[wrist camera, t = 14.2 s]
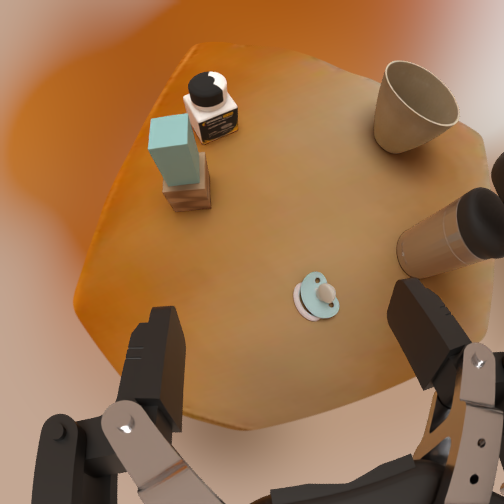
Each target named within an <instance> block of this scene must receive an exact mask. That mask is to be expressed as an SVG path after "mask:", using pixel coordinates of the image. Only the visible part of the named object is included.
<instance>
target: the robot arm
mask: <svg viewBox="0 0 504 504" xmlns="http://www.w3.org/2000/svg"><path fill="white" fill-rule="evenodd" d="M491 178H492V182H493V185H494V187H495V189H496V191H497V194H498V196H497V195H496V194H495V193H494V192H492V191H491V190H489V189H486V188H482V187H479V188H475V189H473V190H471V191H469V192H468V193H466V194H464V195H463V196H462V197H460V198H458V199H457V200H455V201H454V202H452V203H451V204H449V205H448V206H446V207H444V208H443V209H441V210H439V211H438V212H436V213H435V214H433V215H431V216H430V217H428V218H426V219H425V220H423V221H421V222H420V223H418V224H416V225H415V226H413V227H411V228H410V229H408V230H406V231H405V232H404V233H403V234H402V235H401V236H400V238H399V240H398V244H397V256H398V260H399V263H400V265H401V267H402V268H403V270H404V271H405V272H406V273H407V274H408V275H410V276H411V277H413V278H407V279H401V280H398V281H397V282H396V284H395V287H394V290H393V294H392V297H391V300H390V304H389V307H388V310H387V319H388V323H389V326H390V328H391V329H392V331H393V333H394V335H395V337H396V338H397V340H398V342H399V344H400V346H401V348H402V350H403V351H404V353H405V355H406V357H407V359H408V361H409V363H410V365H411V367H412V369H413V371H414V373H415V375H416V377H417V379H418V380H419V383H420V385H421V387H422V389H423V390H427V389H429V388H432V387H434V388H435V390H436V392H435V393H434V395H433V399H432V404H431V408H430V412H429V417H428V421H427V425H426V429H425V432H424V436H423V438H422V440H421V442H420V444H419V445H418V447H417V449H416V451H415V453H414V455H413V457H412V455H411V454H409V455H406V456H404V457H401V458H398V459H396V460H393V461H390V462H387V463H384V464H382V465H380V466H378V467H376V468H375V469H373V470H371V471H370V472H368V473H366V474H365V475H363V476H361V477H359V478H358V479H356V480H354V481H352V482H350V483H346V484H304V485H299V486H293V487H286V488H279V489H272V490H270V491H271V492H270V495H268V496H265V497H262V498H260V499H258V500H256V501H254V502H252V503H250V504H504V497H503V496H501V495H499V494H497V493H495V492H493V491H492V490H493V486H494V481H495V476H496V471H497V466H498V459H499V458H500V461H501V464H502V467H503V470H504V352H492V351H491V350H490V349H489V348H488V347H487V346H485V345H483V344H481V343H472V342H471V341H470V339H469V338H468V336H467V335H466V333H465V332H464V330H463V329H462V328H461V326H460V325H459V323H458V322H457V321H456V319H455V318H454V316H453V315H451V312H450V311H449V310H448V308H447V307H445V304H444V303H443V302H442V300H441V299H440V298H439V296H438V295H436V294H435V293H434V292H432V291H431V290H429V289H428V288H427V289H426V288H425V287H424V286H423V284H422V283H421V282H420V280H419V279H422V278H426V277H430V276H434V275H437V274H441V273H444V272H448V271H451V270H455V269H458V268H461V267H465V266H468V265H471V264H474V263H477V262H481V261H484V260H487V259H490V258H496V259H497V258H503V257H504V152H503V153H502V154H501V155H500V157H499V158H498V159H497V160H496V162H495V164H494V166H493V168H492V172H491ZM128 348H129V349H128V350H127V354H126V360H125V363H124V367H123V372H122V376H121V381H120V386H119V391H118V396H117V399H116V402H115V403H113V404H112V405H110V406H109V407H108V408H107V409H106V410H105V412H104V414H103V415H101V416H99V417H95V418H91V419H86V420H81V421H77V422H75V421H74V420H73V419H72V418H71V417H69V416H68V415H65V414H57V415H53V416H51V417H50V418H49V419H47V421H46V422H45V423H44V425H43V427H42V430H41V435H40V441H39V446H38V452H37V459H36V465H35V472H34V481H33V490H32V502H31V504H117V476H118V473H123V472H128V473H129V475H130V476H131V478H132V479H133V481H134V482H135V484H136V485H137V487H138V495H139V497H140V499H141V500H142V502H143V503H144V504H225V503H224V502H223V501H222V500H221V499H220V498H219V497H218V496H217V495H216V494H215V493H214V492H213V491H212V490H211V489H210V488H209V487H208V486H207V485H206V484H205V483H204V482H203V481H202V479H201V478H200V477H199V476H198V475H197V474H196V473H195V472H194V471H193V470H192V468H191V467H190V466H189V465H188V464H187V463H186V462H185V460H184V459H183V458H182V457H181V456H180V454H179V453H178V452H177V451H176V450H175V448H174V447H173V446H172V432H182V407H183V387H184V370H185V355H186V345H185V338H184V334H183V331H182V328H181V325H180V321H179V318H178V315H177V311H176V308H175V307H174V306H163V307H153V308H152V309H151V313H150V318H149V322H148V323H139V325H138V326H137V327H136V329H135V330H134V331H133V333H132V334H131V337H130V341H129V346H128ZM500 492H501V494H503V495H504V483H503V484H502V486H501V488H500Z"/></svg>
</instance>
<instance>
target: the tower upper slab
mask: <svg viewBox="0 0 504 504" xmlns="http://www.w3.org/2000/svg"><path fill="white" fill-rule="evenodd" d="M199 175H200V183H195V184H186V185H177V186H169V187H168V185H167V183H166V181H165V180H164V178H163V194H164V195H165V197H166V199H167V200H168V202H169V203H173V202H186V201H199V200H208V165H207V161H206V156H205V152H200V153H199Z"/></svg>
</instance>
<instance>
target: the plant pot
mask: <svg viewBox="0 0 504 504" xmlns="http://www.w3.org/2000/svg"><path fill="white" fill-rule="evenodd" d="M459 116H460V112H459V107H458V104H457V102H456V99H455V98H454V96H453V94H452V93H451V91H450V90H449V89H448V88H447V86H446V85H445V84H444V83H443V82H442V81H441V80H440V79H439V78H437V77H436V76H435V75H433V74H432V73H431V72H429V71H428V70H426V69H425V68H423V67H421V66H419V65H417V64H414V63H411V62H407V61H393V62H391V63H389V64H388V65H387V67H386V69H385V73H384V76H383V79H382V83H381V86H380V90H379V94H378V99H377V104H376V111H375V120H374V137H375V139H376V141H377V143H378V144H379V145H380V146H381V147H382V148H383V149H385V150H386V151H388V152H390V153H394V154H398V153H402V152H405V151H408V150H411V149H413V148H416V147H418V146H420V145H423V144H425V143H427V142H428V141H430V140H432V139H434V138H436V137H437V136H439V135H440V134H442V133H443V132H445V131H446V130H448V129H449V128H450V127H452V126H453V125H455V124H456V123H457V122H458V120H459Z"/></svg>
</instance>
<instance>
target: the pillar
mask: <svg viewBox="0 0 504 504" xmlns="http://www.w3.org/2000/svg"><path fill="white" fill-rule="evenodd" d="M148 150H149V152H150V154H151V156H152V158H153V160H154V161H155V163H156V165H157V167H158V169H159V171H160V172H161V174H162V176H163V178H164V180H165V181H166V183H167V185H168V187H169V186H177V185H186V184H195V183H200V175H199V153H198V149H197V146H196V142H195V138H194V134H193V131H192V127H191V123H190V119H189V115H188V113H187V114H179V115H172V116H166V117H159V118H153V119H151V125H150V134H149V145H148Z"/></svg>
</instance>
